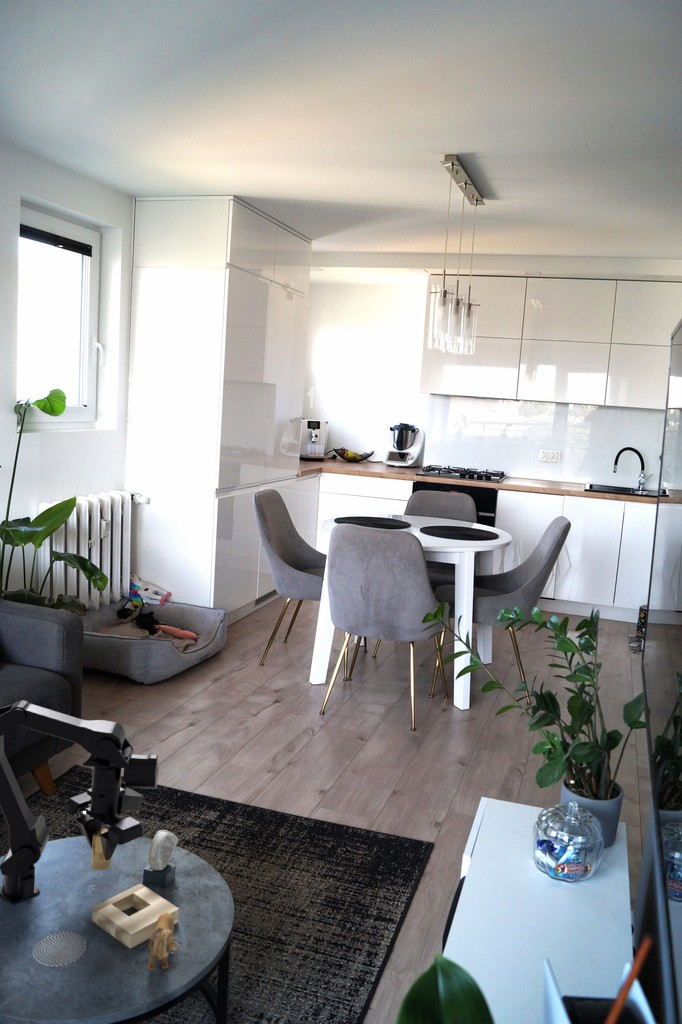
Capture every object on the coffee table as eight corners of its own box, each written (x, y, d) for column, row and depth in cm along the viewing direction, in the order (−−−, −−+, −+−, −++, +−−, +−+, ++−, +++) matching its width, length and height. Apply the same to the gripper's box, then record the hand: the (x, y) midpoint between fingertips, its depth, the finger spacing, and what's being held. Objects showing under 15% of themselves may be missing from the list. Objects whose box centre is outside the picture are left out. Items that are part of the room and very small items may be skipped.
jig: (91, 920, 172) (92, 906, 172) (139, 896, 182) (140, 883, 181) (130, 948, 165) (131, 934, 165) (177, 922, 175) (178, 908, 174)
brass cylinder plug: (87, 864, 179) (89, 833, 178) (102, 857, 182) (105, 826, 181) (99, 872, 177) (101, 840, 176) (114, 865, 180) (117, 833, 179)
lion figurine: (176, 982, 157) (180, 937, 156) (146, 983, 156) (150, 938, 155) (173, 931, 172) (177, 889, 170) (146, 932, 170) (149, 890, 169)
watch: (178, 873, 192) (182, 827, 190) (161, 892, 184) (165, 844, 182) (156, 867, 193) (159, 821, 191) (138, 886, 185) (141, 838, 184)
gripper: (166, 789, 178) (161, 859, 180) (109, 759, 189) (105, 825, 191) (123, 806, 169) (117, 880, 171) (66, 773, 180) (61, 843, 182)
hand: (101, 855), depth 179 cm, fingers closed on brass cylinder plug, 4 cm apart
